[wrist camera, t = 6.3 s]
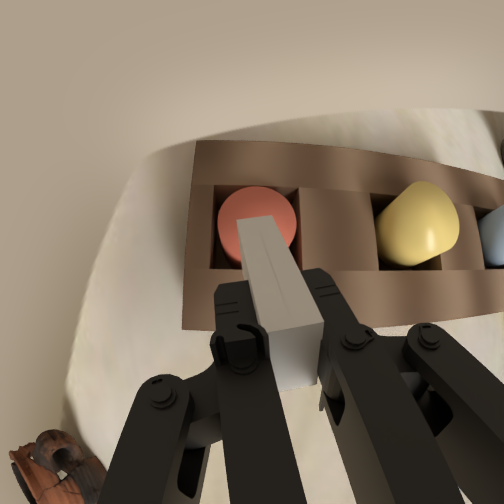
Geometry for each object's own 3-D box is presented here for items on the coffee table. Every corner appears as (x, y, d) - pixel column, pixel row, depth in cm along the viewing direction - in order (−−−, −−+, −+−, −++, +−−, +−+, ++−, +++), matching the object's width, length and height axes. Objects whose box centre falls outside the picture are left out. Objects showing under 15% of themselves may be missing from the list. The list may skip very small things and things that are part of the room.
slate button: (495, 221, 20) (527, 203, 16) (504, 268, 19) (538, 255, 15) (466, 217, 20) (499, 196, 16) (475, 268, 19) (512, 254, 14)
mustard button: (417, 211, 20) (450, 185, 15) (425, 269, 19) (464, 253, 14) (367, 207, 20) (395, 177, 15) (373, 269, 18) (408, 251, 14)
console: (461, 210, 27) (505, 180, 20) (475, 316, 24) (528, 306, 17) (207, 193, 26) (196, 140, 19) (200, 330, 23) (181, 329, 15)
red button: (283, 216, 22) (294, 187, 17) (285, 276, 20) (297, 260, 16) (223, 214, 21) (219, 185, 17) (220, 275, 20) (215, 259, 16)
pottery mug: (119, 519, 18) (58, 544, 10) (68, 465, 22) (12, 479, 15) (120, 448, 18) (34, 473, 11) (64, 389, 22) (-8, 396, 15)
